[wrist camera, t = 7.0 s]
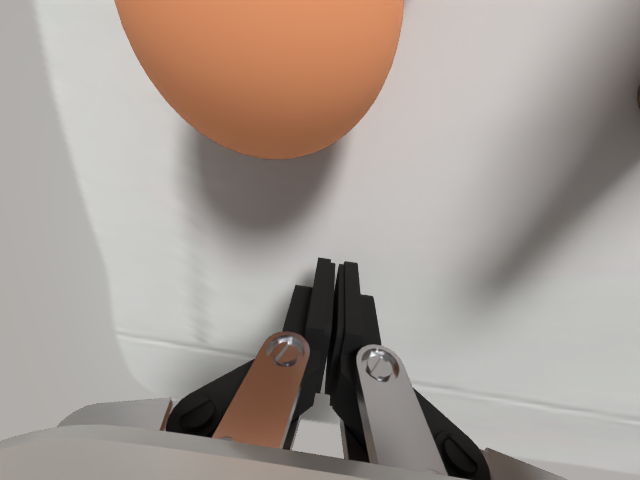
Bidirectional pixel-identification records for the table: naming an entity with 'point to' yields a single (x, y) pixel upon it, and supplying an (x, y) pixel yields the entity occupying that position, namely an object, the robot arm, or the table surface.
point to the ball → (266, 66)
